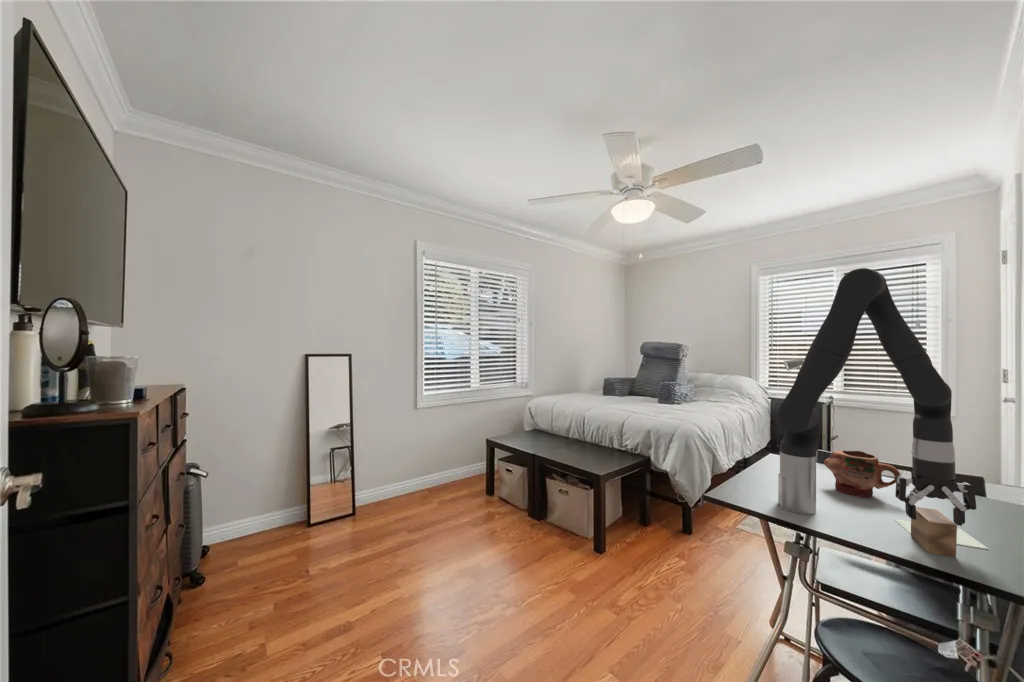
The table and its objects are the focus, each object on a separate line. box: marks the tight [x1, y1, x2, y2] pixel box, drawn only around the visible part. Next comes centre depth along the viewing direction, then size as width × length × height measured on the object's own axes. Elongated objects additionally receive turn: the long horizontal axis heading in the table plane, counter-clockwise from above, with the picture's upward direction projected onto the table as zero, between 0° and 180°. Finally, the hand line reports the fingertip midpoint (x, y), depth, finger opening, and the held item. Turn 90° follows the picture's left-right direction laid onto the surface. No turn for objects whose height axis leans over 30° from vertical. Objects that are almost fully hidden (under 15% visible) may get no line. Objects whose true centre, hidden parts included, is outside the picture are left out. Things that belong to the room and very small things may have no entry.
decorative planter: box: [823, 449, 902, 499], centre depth 137 cm, size 20×12×14 cm, turn 42°
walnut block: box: [910, 506, 958, 558], centre depth 102 cm, size 5×9×8 cm, turn 155°
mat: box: [893, 518, 989, 551], centre depth 109 cm, size 14×12×1 cm
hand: (934, 521), depth 101 cm, fingers open, 8 cm apart
